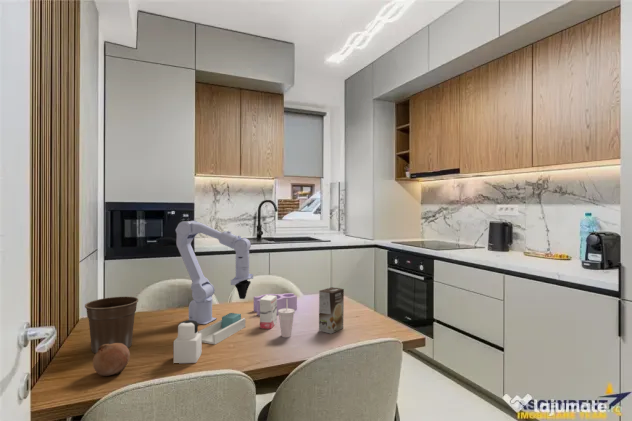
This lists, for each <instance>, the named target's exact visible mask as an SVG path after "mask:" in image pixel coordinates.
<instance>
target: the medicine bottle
mask: <svg viewBox="0 0 632 421" xmlns="http://www.w3.org/2000/svg"><path fill="white" fill-rule="evenodd" d="M198 325H199V324H198V323H197V322H196V321H193V320H189V319H188V320H183V321H181V322H179V323H178V324H177V337H176V338H175V339H174V340H173V342H172V343H173V344H172V345H173V349H172V350H173V351H172V352H173V354H172V355H173V358H172V359H173V362H172V363H173V364H174V363H179V364H195V363H197V362H198V360H199V359H200V357H201V356H202V353H203V352H202V350H203V348H202V347H203V346H202V345H203V344H202V343H203V342H202V334H201V333H198V331H199V329H198Z"/></svg>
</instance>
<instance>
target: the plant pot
mask: <svg viewBox="0 0 632 421" xmlns="http://www.w3.org/2000/svg"><path fill="white" fill-rule="evenodd" d="M138 302H139V298H138V297H135V296H111V297H104V298H99V299H96V300H91V301H89V302H87V303H85V304H84V308H85V309H86V316H87V318H88V325H89V335H90V336H89V337H90V344H91V345H90V346H91V352H92V353H93V354H96V353H97V352H98V348H100V347H101V345H104V344H113V343H122V344H124V345H126V346H127V348H128V349H129V348H130V347H131V346H132V344H133V332H134V327H135V326H134V325H135V316H136V314H135V313H136V312H137V306H138Z"/></svg>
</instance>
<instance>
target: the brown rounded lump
mask: <svg viewBox="0 0 632 421" xmlns="http://www.w3.org/2000/svg"><path fill="white" fill-rule="evenodd" d="M130 358H131V353H130V350H129V348H127V346H126V345H124V344H122V343H113V344H104V345H101V347H100V348H98V352H97V353H94V356H93V358H92V365H93V369H94V371H95V372H96V373H97V374H98V375H100V376H103V377H107V376H113V375H117V374H116V373H118V374H120V373H121V372H123V371H124V370H125V369H126V367H127V365H128V363H129V361H130ZM119 372H120V373H119Z"/></svg>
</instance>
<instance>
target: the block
mask: <svg viewBox="0 0 632 421" xmlns="http://www.w3.org/2000/svg"><path fill="white" fill-rule="evenodd" d="M240 319H242V313H234V312H229V313H227V314H225V315H223V316H221V320H222V328H225V327H227V326H229V325H231V324H233V323H235V322H237V321H238V320H240Z"/></svg>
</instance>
